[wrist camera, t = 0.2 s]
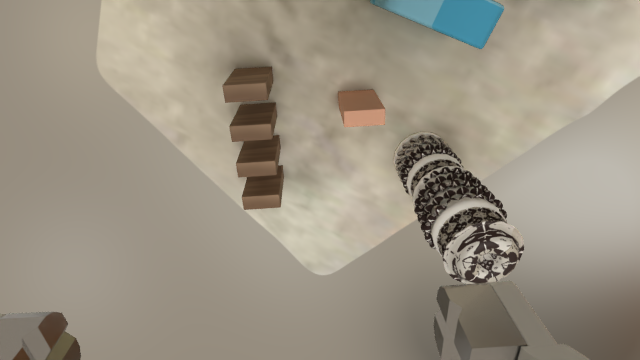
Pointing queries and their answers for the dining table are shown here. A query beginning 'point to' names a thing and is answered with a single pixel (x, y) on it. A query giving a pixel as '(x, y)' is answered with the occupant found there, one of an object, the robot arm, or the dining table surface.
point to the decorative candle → (457, 211)
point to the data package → (450, 16)
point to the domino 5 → (361, 108)
